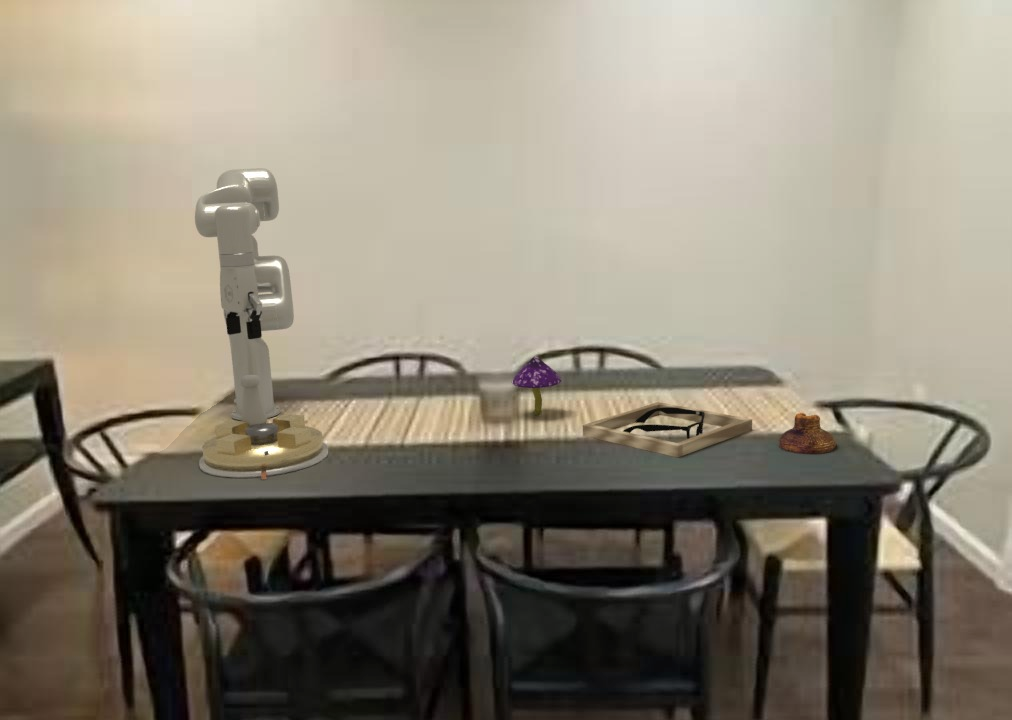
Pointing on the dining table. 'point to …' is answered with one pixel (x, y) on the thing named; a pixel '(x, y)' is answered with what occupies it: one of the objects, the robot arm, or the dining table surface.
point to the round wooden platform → (262, 444)
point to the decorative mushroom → (536, 379)
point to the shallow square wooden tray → (607, 433)
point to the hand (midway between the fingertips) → (244, 336)
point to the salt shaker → (252, 401)
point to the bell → (807, 436)
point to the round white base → (264, 473)
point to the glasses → (667, 427)
